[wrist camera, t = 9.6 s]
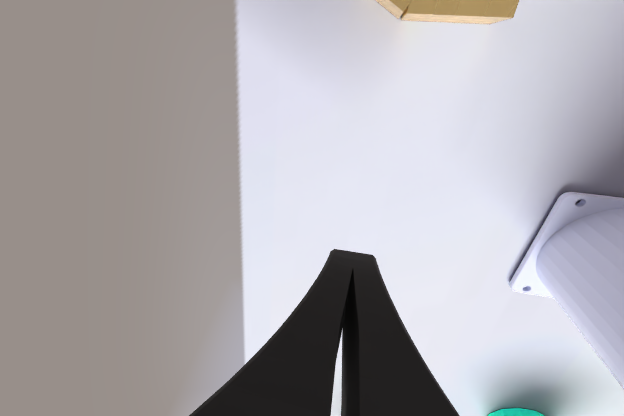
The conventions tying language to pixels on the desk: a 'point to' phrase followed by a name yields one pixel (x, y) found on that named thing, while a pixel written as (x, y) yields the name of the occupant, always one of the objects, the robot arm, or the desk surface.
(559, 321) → the desk surface
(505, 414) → the candle
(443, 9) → the wide wooden arch
